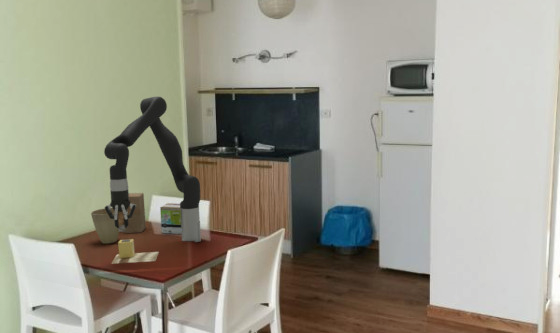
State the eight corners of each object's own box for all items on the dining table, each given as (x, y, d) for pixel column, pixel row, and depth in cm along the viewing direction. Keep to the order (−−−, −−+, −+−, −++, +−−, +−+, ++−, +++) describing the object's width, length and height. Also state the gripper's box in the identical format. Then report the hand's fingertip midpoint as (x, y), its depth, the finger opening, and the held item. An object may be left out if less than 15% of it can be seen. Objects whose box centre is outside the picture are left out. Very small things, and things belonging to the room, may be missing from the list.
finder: (134, 253, 256) (133, 238, 255) (133, 257, 251) (131, 241, 250) (121, 254, 256) (120, 239, 255) (119, 258, 251) (118, 242, 250)
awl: (126, 229, 247) (124, 210, 246) (125, 231, 244) (123, 211, 243) (119, 230, 247) (117, 210, 245) (118, 232, 244) (116, 211, 242)
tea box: (161, 233, 295) (159, 206, 293) (168, 229, 305) (167, 202, 303) (187, 234, 292) (186, 207, 290) (194, 229, 302) (193, 203, 300)
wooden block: (141, 232, 299) (138, 196, 296) (122, 233, 299) (120, 196, 296) (146, 228, 309) (143, 192, 306) (128, 228, 309) (125, 193, 306)
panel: (159, 254, 259) (158, 251, 258) (155, 263, 245) (155, 260, 245) (117, 256, 257) (116, 254, 256) (111, 266, 243) (111, 263, 243)
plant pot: (113, 236, 294) (110, 206, 291) (129, 240, 284) (127, 209, 282) (87, 242, 282) (85, 212, 280) (104, 247, 273) (101, 215, 271)
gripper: (100, 191, 238) (103, 230, 241) (134, 189, 240) (137, 228, 242) (104, 188, 246) (107, 226, 248) (137, 186, 247) (139, 224, 249)
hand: (122, 227), depth 245 cm, fingers closed on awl, 3 cm apart
